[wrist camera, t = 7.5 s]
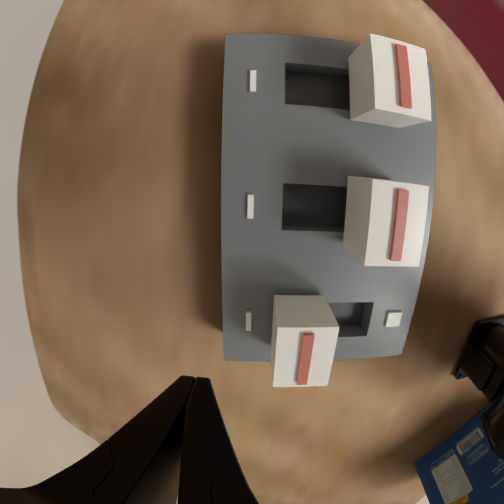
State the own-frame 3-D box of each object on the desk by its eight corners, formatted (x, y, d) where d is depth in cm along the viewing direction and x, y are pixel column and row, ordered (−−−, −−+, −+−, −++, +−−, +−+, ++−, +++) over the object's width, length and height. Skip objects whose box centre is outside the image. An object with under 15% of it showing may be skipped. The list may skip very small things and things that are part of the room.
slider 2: (385, 74, 13) (427, 47, 8) (387, 130, 14) (433, 120, 9) (341, 65, 13) (371, 31, 8) (342, 123, 14) (376, 107, 9)
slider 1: (319, 285, 17) (340, 329, 12) (313, 336, 18) (328, 388, 13) (272, 284, 17) (277, 329, 12) (269, 336, 18) (273, 389, 13)
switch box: (409, 74, 15) (436, 61, 11) (386, 332, 20) (404, 359, 17) (230, 53, 15) (224, 29, 11) (228, 335, 20) (222, 365, 17)
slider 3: (385, 179, 15) (431, 186, 10) (380, 240, 16) (420, 268, 11) (340, 174, 15) (374, 179, 10) (336, 238, 16) (365, 267, 11)
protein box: (509, 410, 25) (551, 471, 10) (435, 472, 28) (462, 539, 14) (499, 390, 23) (553, 464, 8) (411, 464, 27) (442, 547, 12)
